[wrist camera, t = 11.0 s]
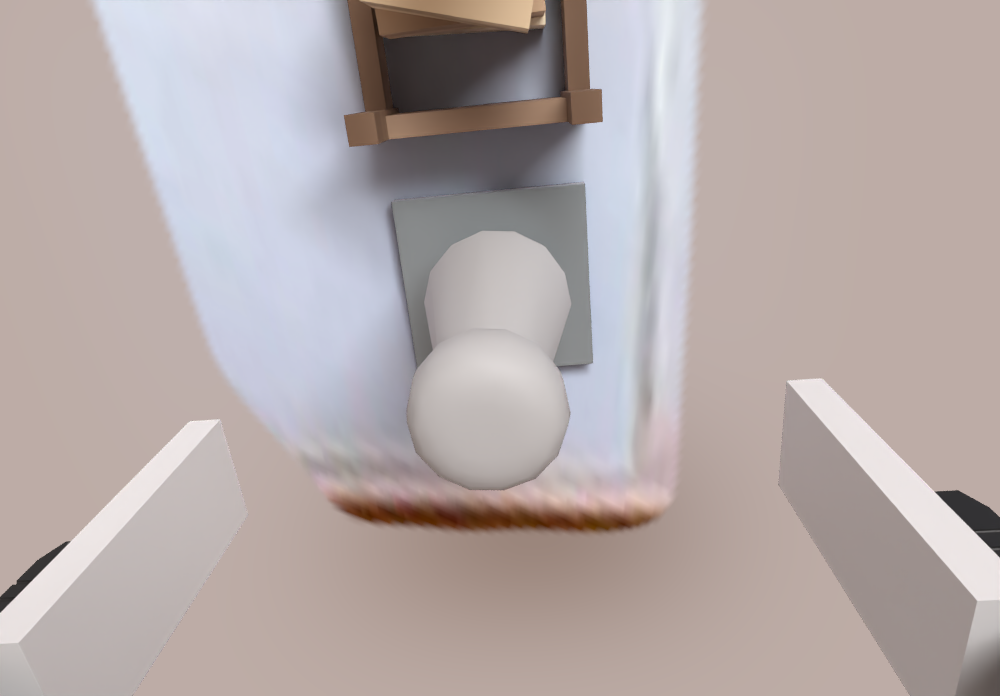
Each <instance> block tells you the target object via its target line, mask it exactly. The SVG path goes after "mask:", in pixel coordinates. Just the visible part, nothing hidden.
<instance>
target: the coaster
mask: <svg viewBox="0 0 1000 696" xmlns="http://www.w3.org/2000/svg"><path fill="white" fill-rule="evenodd" d="M391 203H392V209H393V216H394V222H395V229H396V235H397V241H398V248H399V254H400V261H401V267H402V273H403V280H404V286H405V293H406V299H407V306H408V312H409V318H410V325H411V331H412V338H413V344H414V351H415V357H416V363H417V368H418V367H419V366H420V365H421V363H422V362H423V361H424V360H425V359H426V358H427V357H428V355H429V354H430V353H431V352H432V351H433V348H432V343H431V337H430V332H429V326H428V321H427V315H426V310H425V304H424V300H425V295H426V290H427V285H428V280H429V275H430V271H431V270H432V269H433V267H434V266H435V265H436V264H437V262H438V261H439V260H440V259H441V257H442V256H443V255H444V254H445V252H446V251H447V250H448V249H449V247H450V246H451V245H453V244H455V243H457V242H459V241H461V240H463V239H465V238H467V237H470V236H472V235H474V234H476V233H478V232H480V231H514V232H517V233H519V234H521V235H523V236H525V237H527V238H529V239H531V240H533V241H535V242H537V243H539V244H541V245H543V246H545V247H546V248H547V250H548V251H549V252H550V254H551V255H552V256H553V258H554V259H555V260H556V262H557V263H558V265H559V266H560V267H561V269H562V270H563V271H564V273H565V276H566V281H567V286H568V290H569V295H570V300H571V307H570V311H569V314H568V317H567V320H566V323H565V326H564V329H563V333H562V336H561V339H560V342H559V345H558V348H557V352H556V355H555V358H554V361H553V362H554V364H555V365H556V366H566V365H579V364H591V363H593V353H592V331H591V309H590V287H589V264H588V242H587V220H586V198H585V183H584V182H578V183H567V184H556V185H546V186H535V187H525V188H514V189H503V190H493V191H482V192H472V193H461V194H450V195H440V196H429V197H418V198H408V199H397V200H393V201H392V202H391Z"/></svg>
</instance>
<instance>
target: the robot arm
mask: <svg viewBox="0 0 1000 696" xmlns="http://www.w3.org/2000/svg"><path fill="white" fill-rule="evenodd" d="M778 485H779V486H780V488H781V490H782V491H783V493H784V495H785V496H786V498H787V499H788V501H789V503H790V504H791V506H792V507H793V509H794V511H795V512H796V514H797V515H798V517H799V519H800V520H801V522H802V523H803V525H804V527H805V528H806V530H807V531H808V533H809V535H810V536H811V538H812V539H813V541H814V543H815V544H816V546H817V547H818V549H819V551H820V552H821V554H822V555H823V557H824V559H825V560H826V562H827V563H828V565H829V567H830V568H831V570H832V571H833V573H834V575H835V576H836V578H837V580H838V581H839V583H840V584H841V586H842V587H843V589H844V591H845V592H846V594H847V595H848V597H849V599H850V600H851V602H852V604H853V605H854V607H855V608H856V610H857V612H858V613H859V615H860V616H861V618H862V619H863V621H864V623H865V624H866V626H867V628H868V629H869V631H870V632H871V634H872V636H873V637H874V639H875V640H876V642H877V644H878V645H879V647H880V648H881V650H882V652H883V653H884V655H885V656H886V658H887V660H888V661H889V663H890V664H891V666H892V668H893V669H894V671H895V673H896V674H897V676H898V677H899V679H900V681H901V682H902V684H903V685H904V687H905V688H906V690H907V692H908V693H909V695H910V696H1000V517H999V516H998V515H997V514H996V513H994V512H993V511H992V510H991V509H990V508H989V507H987V506H985V505H984V504H982V503H980V502H978V501H976V500H975V499H973V498H971V497H969V496H967V495H965V494H964V493H962V492H960V491H958V490H956V491H938V492H934V491H933V490H932V489H931V488H930V487H929V486H928V485H927V484H926V483H925V482H924V481H923V480H922V479H921V478H920V477H919V476H918V475H917V474H916V473H915V472H914V471H913V470H912V469H911V468H910V467H909V466H908V465H907V464H906V463H905V462H904V461H903V460H902V459H901V458H900V457H899V456H898V455H897V454H896V453H895V452H894V451H893V450H892V449H891V448H890V447H889V446H888V445H887V444H886V443H885V442H884V441H883V440H882V438H880V436H879V435H878V434H876V432H875V431H873V430H872V428H871V427H870V426H869V425H868V424H867V423H866V422H865V421H864V420H863V419H862V418H861V417H860V416H859V415H858V414H857V413H856V412H855V411H854V410H853V409H852V408H851V407H850V406H849V405H848V404H847V403H846V402H845V401H844V400H843V399H842V398H841V397H840V396H839V395H838V394H837V393H836V392H835V391H834V390H833V389H832V388H831V387H830V386H829V385H828V384H827V383H826V382H825V381H824V380H823V379H822V378H820V379H806V380H791V381H787V382H786V394H785V407H784V419H783V432H782V445H781V458H780V470H779V484H778ZM247 516H248V513H247V509H246V505H245V502H244V499H243V495H242V492H241V488H240V485H239V482H238V478H237V475H236V471H235V468H234V465H233V461H232V458H231V455H230V451H229V447H228V444H227V440H226V437H225V434H224V430H223V427H222V423H221V420H220V419H218V420H203V421H191V422H188V424H186V425H185V427H183V428H182V430H181V431H179V433H178V434H177V435H176V436H175V437H174V438H173V439H172V440H171V441H170V442H169V443H168V444H167V445H166V446H165V447H164V448H163V449H162V450H161V451H160V452H159V453H158V454H157V455H156V456H155V457H154V458H153V459H152V460H151V461H150V462H149V463H148V464H147V465H146V466H145V467H144V468H143V469H142V470H141V471H140V472H139V473H138V474H137V475H136V476H135V477H134V478H133V479H132V480H131V481H130V482H129V483H128V484H127V485H126V486H125V487H124V488H123V489H122V490H121V491H120V492H119V493H118V494H117V495H116V496H115V497H114V498H113V499H112V500H111V501H110V502H109V503H108V504H107V505H106V507H104V509H102V510H101V512H100V513H99V514H98V515H97V516H96V517H95V518H94V519H93V520H92V521H91V522H90V523H89V524H88V525H87V526H86V527H85V528H84V529H83V530H82V531H81V532H80V533H79V534H78V535H77V536H76V537H75V538H74V539H73V540H72V541H69V542H65V543H63V544H62V545H60V546H59V547H57V548H55V549H54V550H52V551H51V552H49V553H48V554H46V555H45V556H43V557H42V558H40V559H39V560H37V561H36V562H35V563H34V564H33V565H32V566H31V567H30V568H29V569H28V570H27V571H26V572H25V573H24V574H23V575H22V576H21V577H20V578H19V579H18V580H17V584H16V585H12V586H11V587H10V588H9V589H8V590H7V591H6V592H5V593H4V594H3V595H2V596H1V597H0V696H133V694H134V693H135V691H136V690H137V688H138V686H139V685H140V683H141V682H142V680H143V679H144V677H145V676H146V674H147V673H148V671H149V669H150V668H151V666H152V665H153V663H154V661H155V660H156V658H157V657H158V655H159V654H160V652H161V651H162V649H163V648H164V646H165V644H166V643H167V641H168V640H169V638H170V637H171V635H172V633H173V632H174V630H175V628H176V627H177V625H178V624H179V622H180V621H181V619H182V618H183V616H184V615H185V613H186V612H187V610H188V608H189V607H190V605H191V604H192V602H193V601H194V599H195V597H196V596H197V594H198V593H199V591H200V589H201V588H202V587H203V585H204V583H205V582H206V580H207V579H208V577H209V576H210V574H211V572H212V571H213V569H214V568H215V566H216V565H217V563H218V561H219V560H220V558H221V557H222V555H223V554H224V552H225V551H226V549H227V547H228V546H229V544H230V543H231V541H232V540H233V538H234V536H235V535H236V533H237V532H238V530H239V529H240V527H241V526H242V524H243V522H244V521H245V519H246V518H247Z"/></svg>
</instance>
